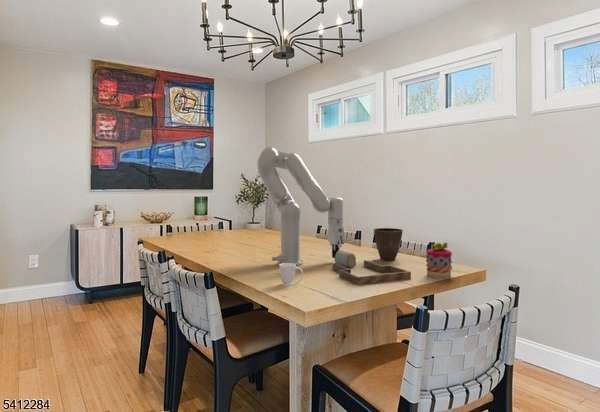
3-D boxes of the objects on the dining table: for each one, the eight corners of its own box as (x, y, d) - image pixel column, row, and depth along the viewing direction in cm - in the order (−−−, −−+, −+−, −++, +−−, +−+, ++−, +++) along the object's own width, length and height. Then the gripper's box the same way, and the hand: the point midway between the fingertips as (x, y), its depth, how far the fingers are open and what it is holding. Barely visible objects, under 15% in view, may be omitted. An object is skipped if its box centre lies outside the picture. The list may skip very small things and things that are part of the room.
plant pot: (397, 263, 198) (397, 231, 197) (369, 260, 206) (369, 230, 205) (405, 258, 211) (406, 229, 210) (379, 256, 218) (379, 227, 218)
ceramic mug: (347, 269, 186) (347, 252, 185) (334, 266, 191) (334, 250, 191) (360, 266, 193) (360, 250, 193) (347, 263, 199) (347, 248, 198)
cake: (420, 274, 174) (421, 240, 173) (437, 271, 179) (438, 239, 178) (439, 279, 165) (440, 243, 164) (456, 276, 170) (457, 242, 169)
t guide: (357, 285, 156) (357, 277, 156) (325, 270, 183) (325, 264, 183) (410, 278, 166) (410, 271, 166) (372, 265, 193) (372, 259, 193)
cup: (281, 281, 162) (281, 262, 161) (305, 283, 159) (305, 263, 159) (276, 286, 155) (276, 265, 154) (301, 287, 152) (301, 267, 152)
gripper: (349, 222, 194) (349, 259, 195) (335, 220, 208) (335, 254, 209) (336, 223, 191) (336, 260, 192) (322, 220, 205) (322, 255, 206)
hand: (335, 257), depth 201 cm, fingers closed
